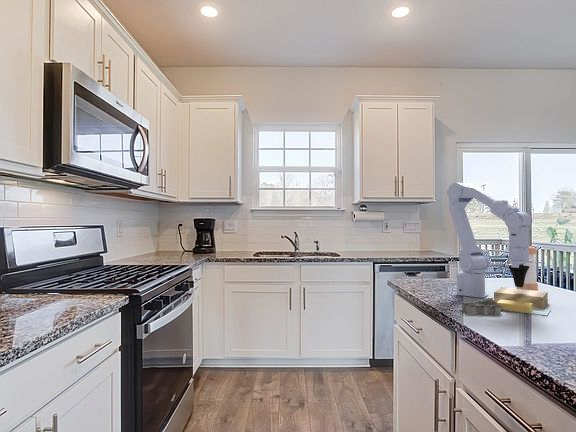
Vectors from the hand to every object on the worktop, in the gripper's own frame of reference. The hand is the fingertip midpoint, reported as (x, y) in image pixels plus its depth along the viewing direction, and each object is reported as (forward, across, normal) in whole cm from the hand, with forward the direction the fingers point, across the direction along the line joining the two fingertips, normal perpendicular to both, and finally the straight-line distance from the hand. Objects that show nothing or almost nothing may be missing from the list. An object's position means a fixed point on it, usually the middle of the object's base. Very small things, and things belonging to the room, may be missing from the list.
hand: (519, 286), depth 126 cm
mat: (+6, -8, 0) cm, 10 cm away
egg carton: (+6, -19, +7) cm, 21 cm away
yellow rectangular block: (+4, -10, 0) cm, 11 cm away
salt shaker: (+6, +29, +2) cm, 30 cm away
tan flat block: (+6, +2, 0) cm, 6 cm away
